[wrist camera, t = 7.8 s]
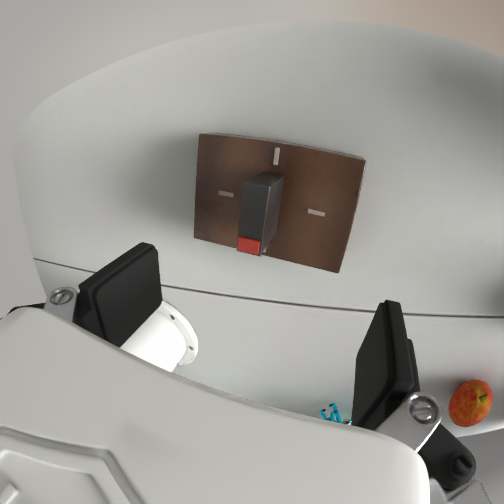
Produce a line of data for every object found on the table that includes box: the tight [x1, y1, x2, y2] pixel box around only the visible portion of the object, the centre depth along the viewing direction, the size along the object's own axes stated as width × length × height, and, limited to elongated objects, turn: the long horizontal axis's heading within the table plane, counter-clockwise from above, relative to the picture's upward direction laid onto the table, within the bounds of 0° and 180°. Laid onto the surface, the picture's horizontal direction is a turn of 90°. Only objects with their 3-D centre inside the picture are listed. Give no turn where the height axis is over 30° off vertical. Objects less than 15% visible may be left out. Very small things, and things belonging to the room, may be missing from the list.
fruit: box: [449, 380, 493, 427], centre depth 24 cm, size 7×7×8 cm
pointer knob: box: [237, 171, 285, 256], centre depth 21 cm, size 5×2×5 cm, turn 173°
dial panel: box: [194, 133, 366, 273], centre depth 24 cm, size 14×10×3 cm
